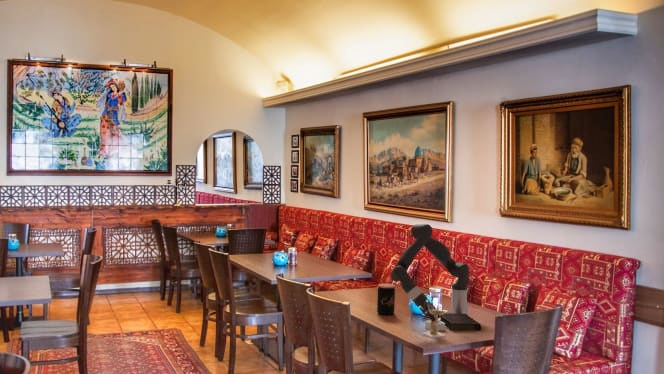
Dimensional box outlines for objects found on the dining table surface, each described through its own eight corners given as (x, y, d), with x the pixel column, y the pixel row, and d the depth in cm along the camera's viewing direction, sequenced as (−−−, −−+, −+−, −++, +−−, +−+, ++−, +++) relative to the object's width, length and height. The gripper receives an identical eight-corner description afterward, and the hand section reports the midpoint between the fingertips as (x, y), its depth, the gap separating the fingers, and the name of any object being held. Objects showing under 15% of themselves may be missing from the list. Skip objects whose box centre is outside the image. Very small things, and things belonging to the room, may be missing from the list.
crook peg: (429, 333, 377) (430, 310, 377) (431, 332, 381) (432, 309, 380) (441, 335, 375) (442, 312, 374) (443, 334, 378) (444, 310, 377)
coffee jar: (380, 316, 421) (381, 286, 420) (374, 312, 431) (375, 283, 430) (396, 315, 423) (397, 286, 423) (390, 311, 434) (391, 283, 433)
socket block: (437, 326, 398) (437, 319, 397) (444, 330, 390) (445, 323, 390) (425, 327, 394) (425, 320, 394) (432, 331, 387) (432, 324, 387)
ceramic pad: (436, 332, 384) (436, 331, 384) (445, 336, 376) (445, 335, 376) (422, 333, 381) (422, 332, 381) (431, 337, 372) (431, 336, 372)
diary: (466, 321, 416) (467, 313, 416) (481, 332, 391) (481, 323, 391) (436, 321, 413) (437, 312, 413) (449, 331, 388) (449, 323, 388)
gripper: (418, 294, 374) (438, 317, 370) (425, 289, 387) (445, 312, 383) (408, 302, 376) (428, 326, 372) (416, 298, 389) (435, 320, 385)
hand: (436, 319), depth 377 cm, fingers open, 8 cm apart
